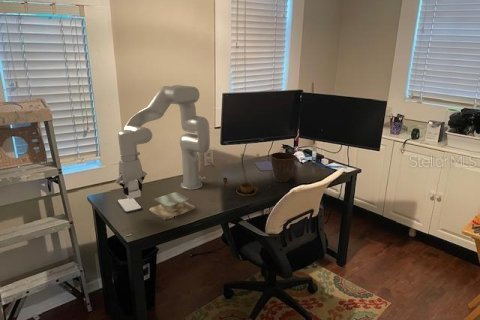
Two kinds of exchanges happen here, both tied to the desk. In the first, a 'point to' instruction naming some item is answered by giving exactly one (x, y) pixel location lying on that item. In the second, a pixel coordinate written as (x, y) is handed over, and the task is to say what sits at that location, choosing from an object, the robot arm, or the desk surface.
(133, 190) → the white wedge bracket
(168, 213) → the stand
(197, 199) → the desk surface
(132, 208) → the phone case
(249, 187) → the place setting
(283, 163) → the plant pot
